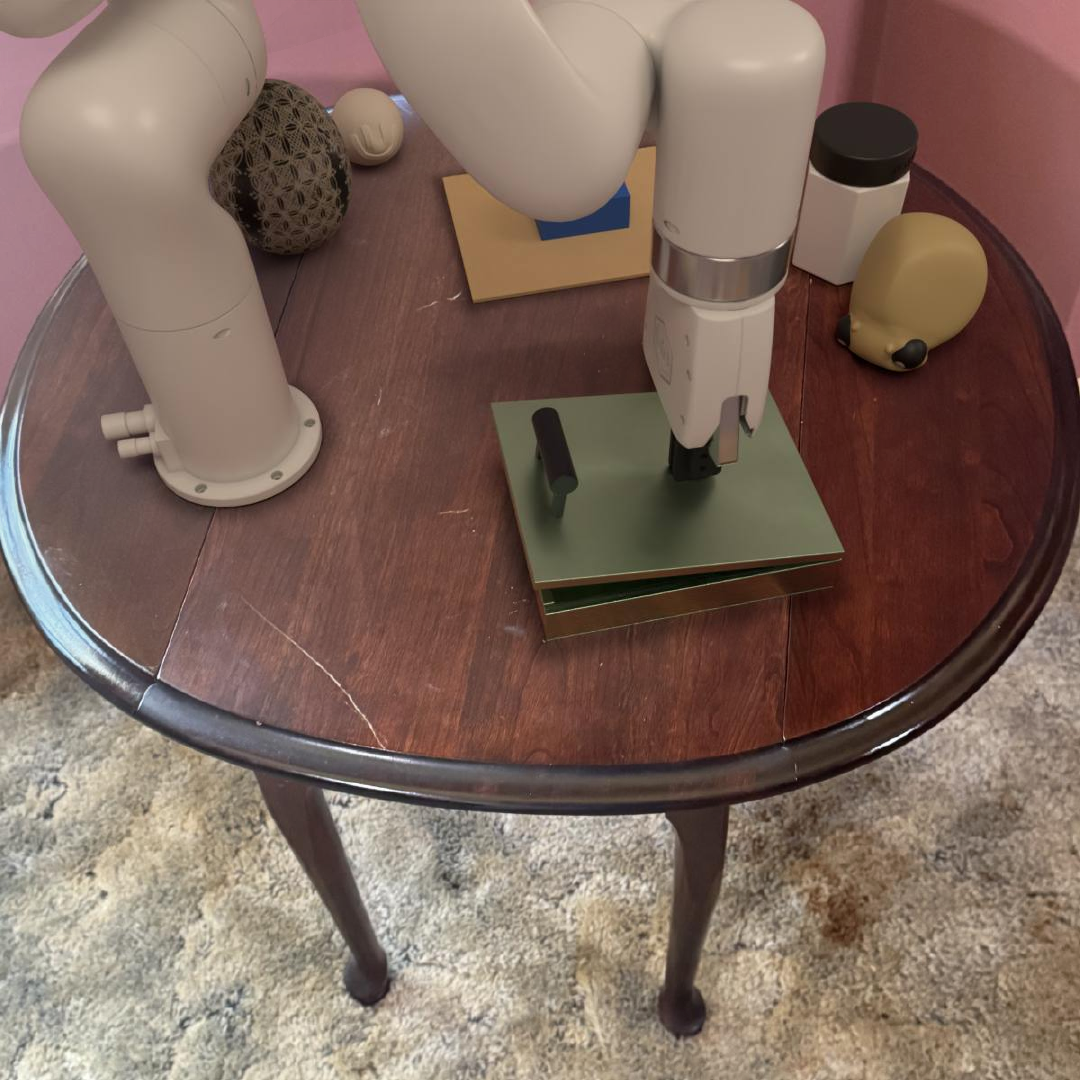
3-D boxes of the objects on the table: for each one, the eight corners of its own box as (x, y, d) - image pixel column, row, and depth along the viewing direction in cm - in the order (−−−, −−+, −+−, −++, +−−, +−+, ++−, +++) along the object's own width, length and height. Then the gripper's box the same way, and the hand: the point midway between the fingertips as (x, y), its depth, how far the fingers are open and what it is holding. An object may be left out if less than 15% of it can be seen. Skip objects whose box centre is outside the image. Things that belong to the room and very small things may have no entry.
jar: (886, 291, 93) (921, 166, 84) (788, 282, 94) (811, 157, 85) (886, 226, 99) (919, 101, 89) (793, 218, 100) (815, 94, 90)
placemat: (473, 303, 94) (472, 300, 94) (442, 180, 105) (442, 177, 104) (723, 264, 96) (724, 260, 96) (668, 147, 107) (668, 144, 107)
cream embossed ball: (351, 189, 104) (338, 125, 99) (329, 148, 109) (316, 85, 103) (418, 171, 106) (410, 106, 101) (394, 131, 110) (385, 68, 105)
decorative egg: (273, 192, 105) (234, 38, 93) (385, 217, 102) (359, 61, 90) (207, 267, 98) (156, 112, 86) (324, 296, 95) (288, 139, 83)
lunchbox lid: (533, 590, 68) (541, 541, 64) (489, 410, 77) (494, 358, 73) (841, 559, 72) (866, 511, 68) (764, 392, 81) (782, 341, 77)
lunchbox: (547, 647, 73) (545, 615, 70) (504, 472, 82) (501, 437, 79) (831, 593, 75) (842, 559, 72) (758, 428, 84) (765, 392, 81)
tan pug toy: (840, 344, 95) (795, 327, 86) (912, 211, 91) (873, 178, 82) (943, 396, 90) (908, 383, 81) (1023, 257, 87) (995, 228, 78)
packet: (541, 241, 98) (540, 208, 95) (529, 204, 101) (528, 172, 99) (629, 228, 99) (630, 195, 96) (614, 191, 102) (615, 159, 100)
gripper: (619, 173, 64) (612, 400, 78) (692, 348, 55) (669, 568, 69) (745, 155, 64) (715, 383, 79) (837, 324, 55) (785, 546, 70)
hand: (694, 469), depth 74 cm, fingers closed
